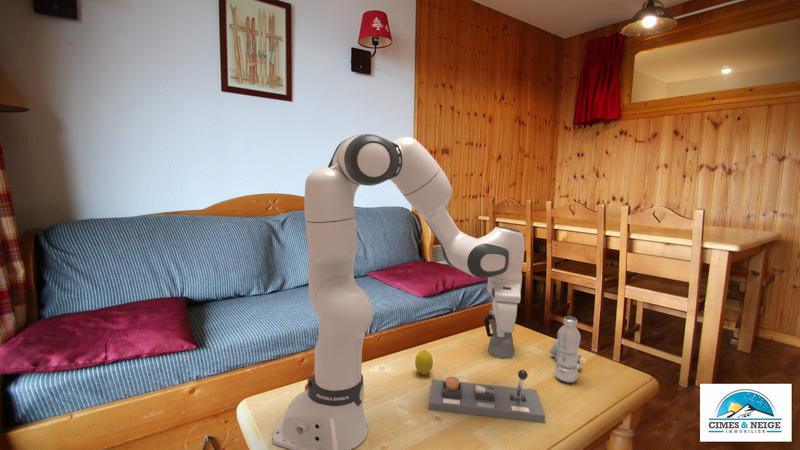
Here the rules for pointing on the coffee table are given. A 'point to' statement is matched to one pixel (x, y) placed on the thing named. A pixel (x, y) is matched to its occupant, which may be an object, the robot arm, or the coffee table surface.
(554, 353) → the round bodied animal figurine
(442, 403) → the control panel
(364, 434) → the robot arm
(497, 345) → the coffeepot
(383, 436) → the coffee table surface
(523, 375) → the toggle lever
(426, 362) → the lemon
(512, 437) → the coffee table surface
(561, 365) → the plastic bottle
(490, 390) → the rocker switch
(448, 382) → the push button
